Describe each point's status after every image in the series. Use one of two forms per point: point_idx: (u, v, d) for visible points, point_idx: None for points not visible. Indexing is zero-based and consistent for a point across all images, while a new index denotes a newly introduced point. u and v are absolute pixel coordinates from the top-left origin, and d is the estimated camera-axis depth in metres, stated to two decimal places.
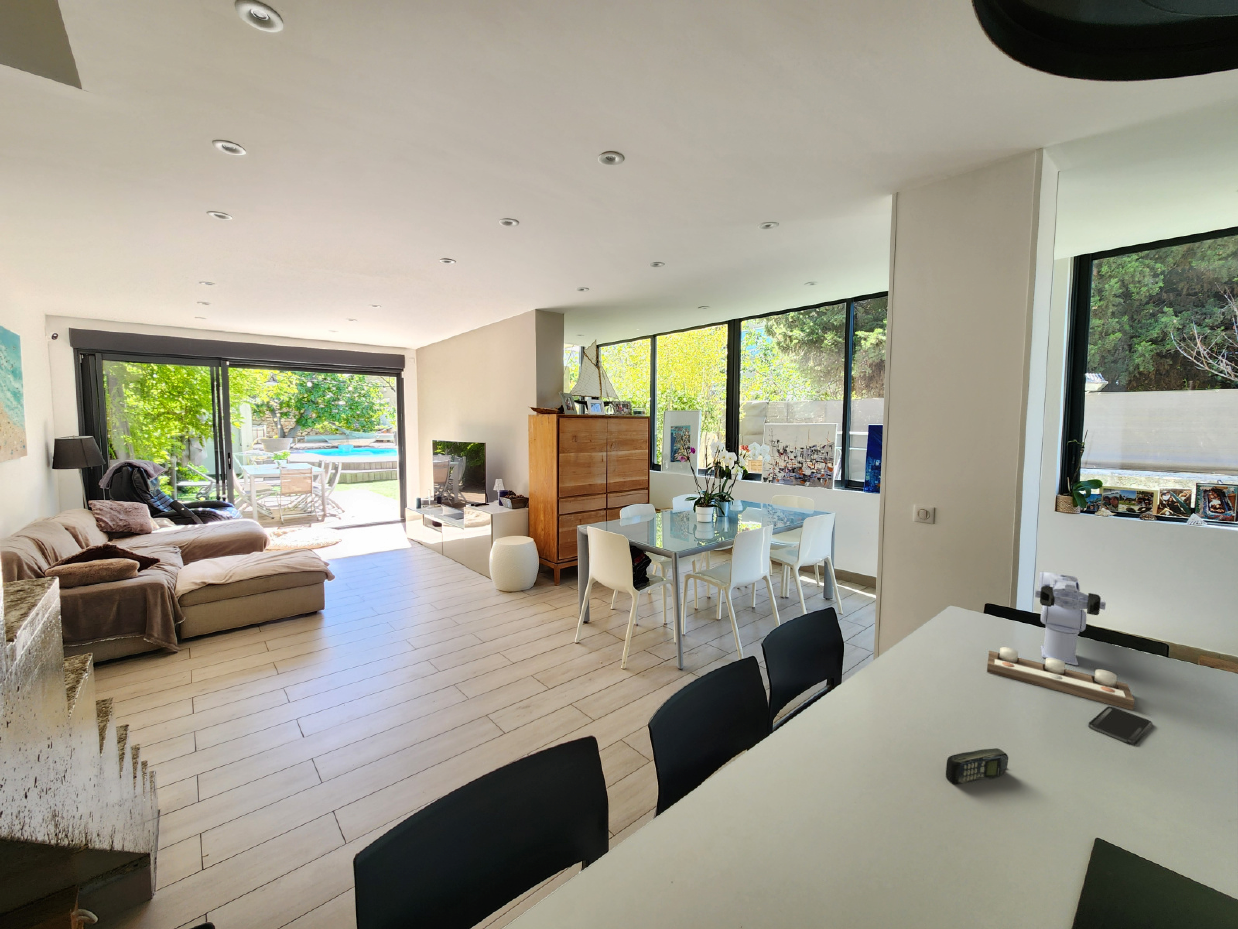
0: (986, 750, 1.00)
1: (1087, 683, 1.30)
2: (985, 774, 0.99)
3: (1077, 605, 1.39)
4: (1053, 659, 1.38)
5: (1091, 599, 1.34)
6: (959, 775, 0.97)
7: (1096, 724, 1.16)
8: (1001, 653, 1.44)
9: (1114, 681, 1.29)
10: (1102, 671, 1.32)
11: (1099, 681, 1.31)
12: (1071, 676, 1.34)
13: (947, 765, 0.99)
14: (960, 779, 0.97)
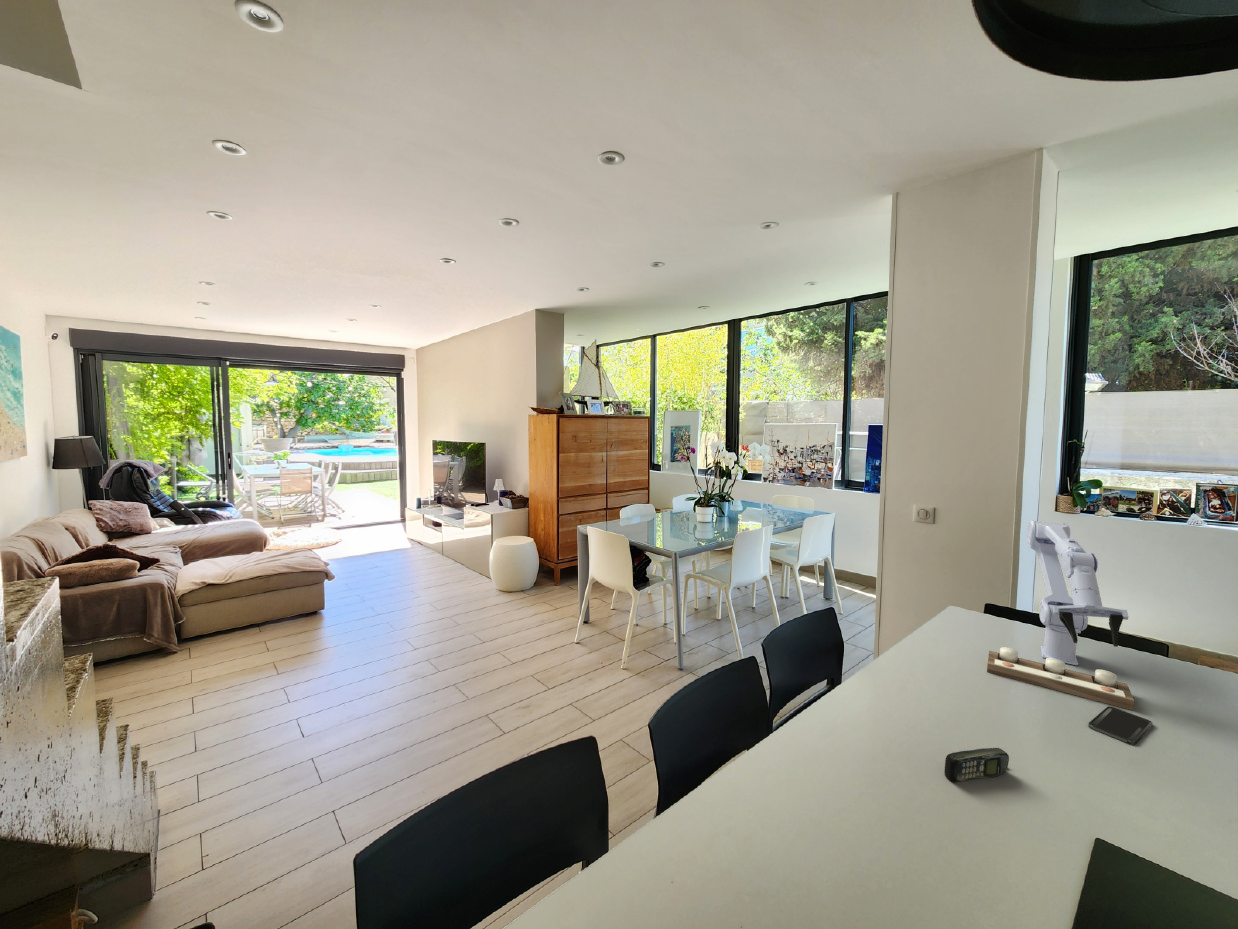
0: (986, 749, 1.00)
1: (1087, 683, 1.30)
2: (984, 773, 0.99)
3: None
4: (1053, 659, 1.38)
5: (1114, 628, 1.28)
6: (957, 773, 0.98)
7: (1096, 724, 1.16)
8: (1001, 653, 1.44)
9: (1114, 681, 1.29)
10: (1102, 671, 1.32)
11: (1099, 681, 1.31)
12: (1071, 676, 1.34)
13: (946, 763, 0.99)
14: (958, 777, 0.98)
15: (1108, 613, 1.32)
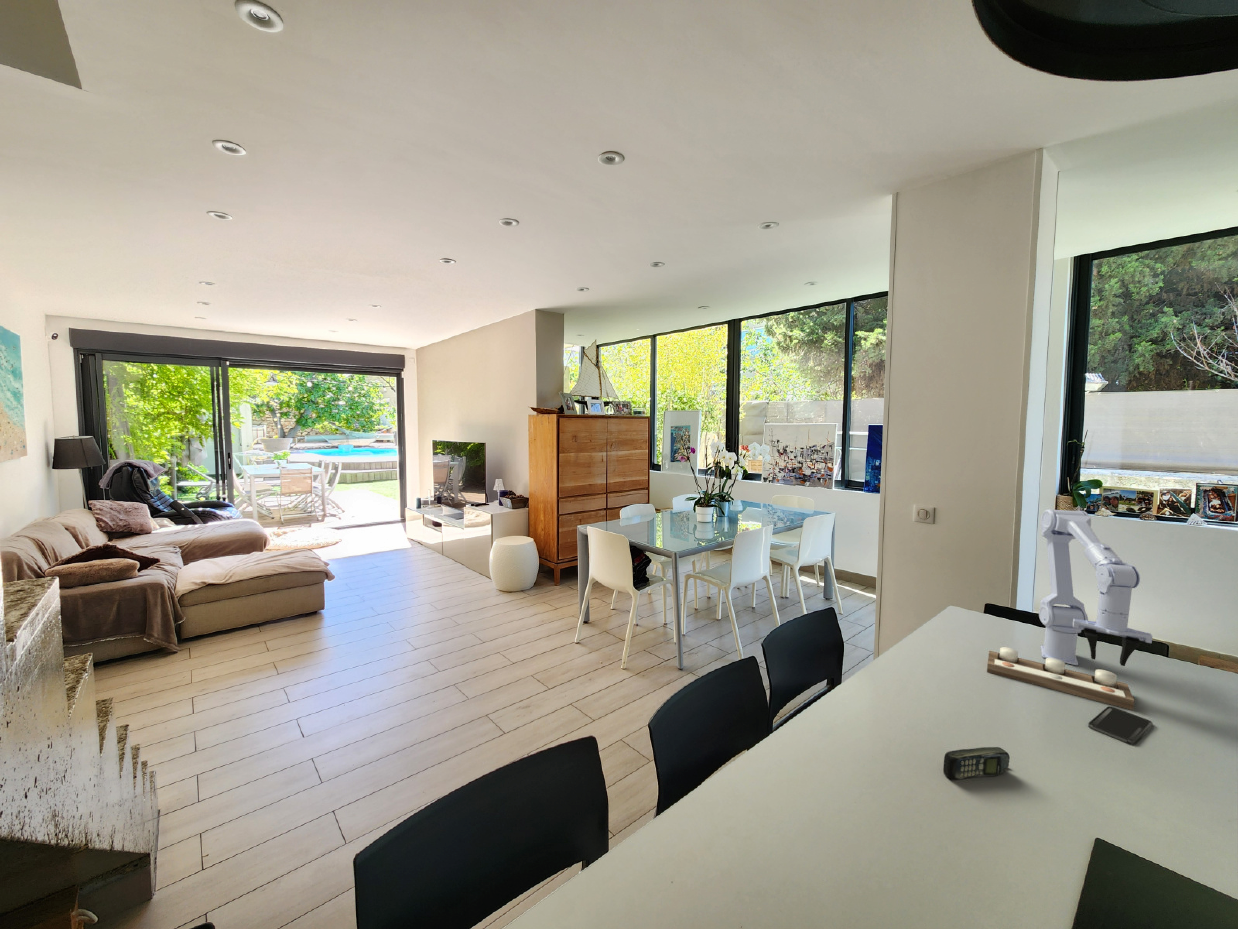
0: (986, 748, 1.01)
1: (1087, 683, 1.30)
2: (984, 772, 0.99)
3: None
4: (1053, 659, 1.38)
5: (1126, 653, 1.27)
6: (956, 771, 0.98)
7: (1096, 724, 1.16)
8: (1001, 653, 1.44)
9: (1114, 681, 1.29)
10: (1102, 671, 1.32)
11: (1099, 681, 1.31)
12: (1071, 676, 1.34)
13: (944, 760, 1.00)
14: (957, 775, 0.98)
15: None
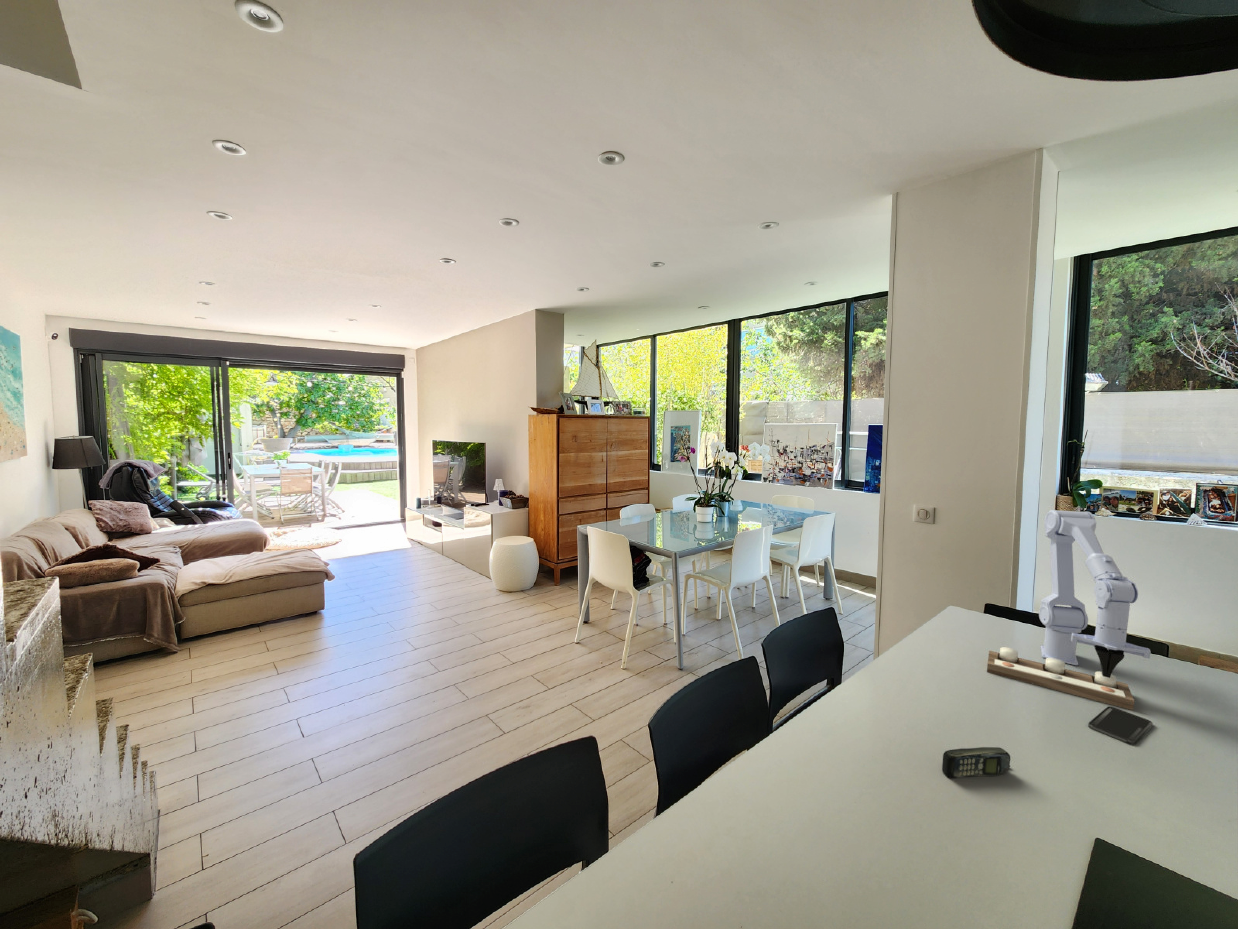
0: (986, 748, 1.01)
1: (1087, 683, 1.30)
2: (983, 771, 1.00)
3: None
4: (1053, 659, 1.38)
5: (1111, 665, 1.29)
6: (954, 769, 0.99)
7: (1096, 724, 1.16)
8: (1001, 653, 1.44)
9: (1114, 683, 1.29)
10: None
11: (1099, 683, 1.31)
12: (1071, 676, 1.34)
13: (943, 759, 1.00)
14: (955, 773, 0.99)
15: None
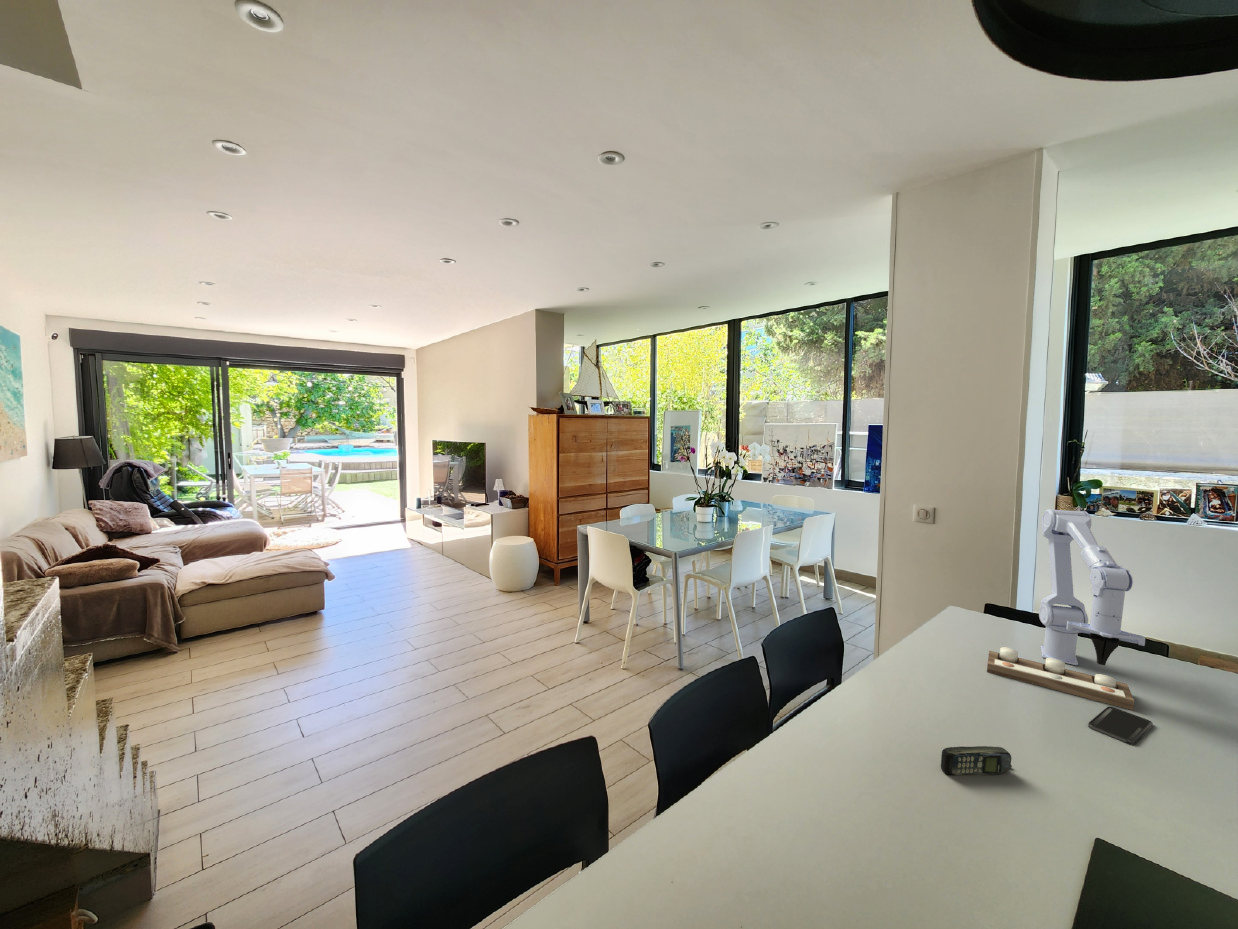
0: (987, 747, 1.01)
1: (1087, 683, 1.30)
2: (983, 770, 1.00)
3: None
4: (1053, 659, 1.38)
5: (1106, 652, 1.30)
6: (952, 767, 1.00)
7: (1096, 724, 1.16)
8: (1001, 653, 1.44)
9: (1113, 686, 1.29)
10: (1101, 676, 1.32)
11: None
12: (1071, 676, 1.34)
13: (942, 756, 1.01)
14: (954, 770, 1.00)
15: None
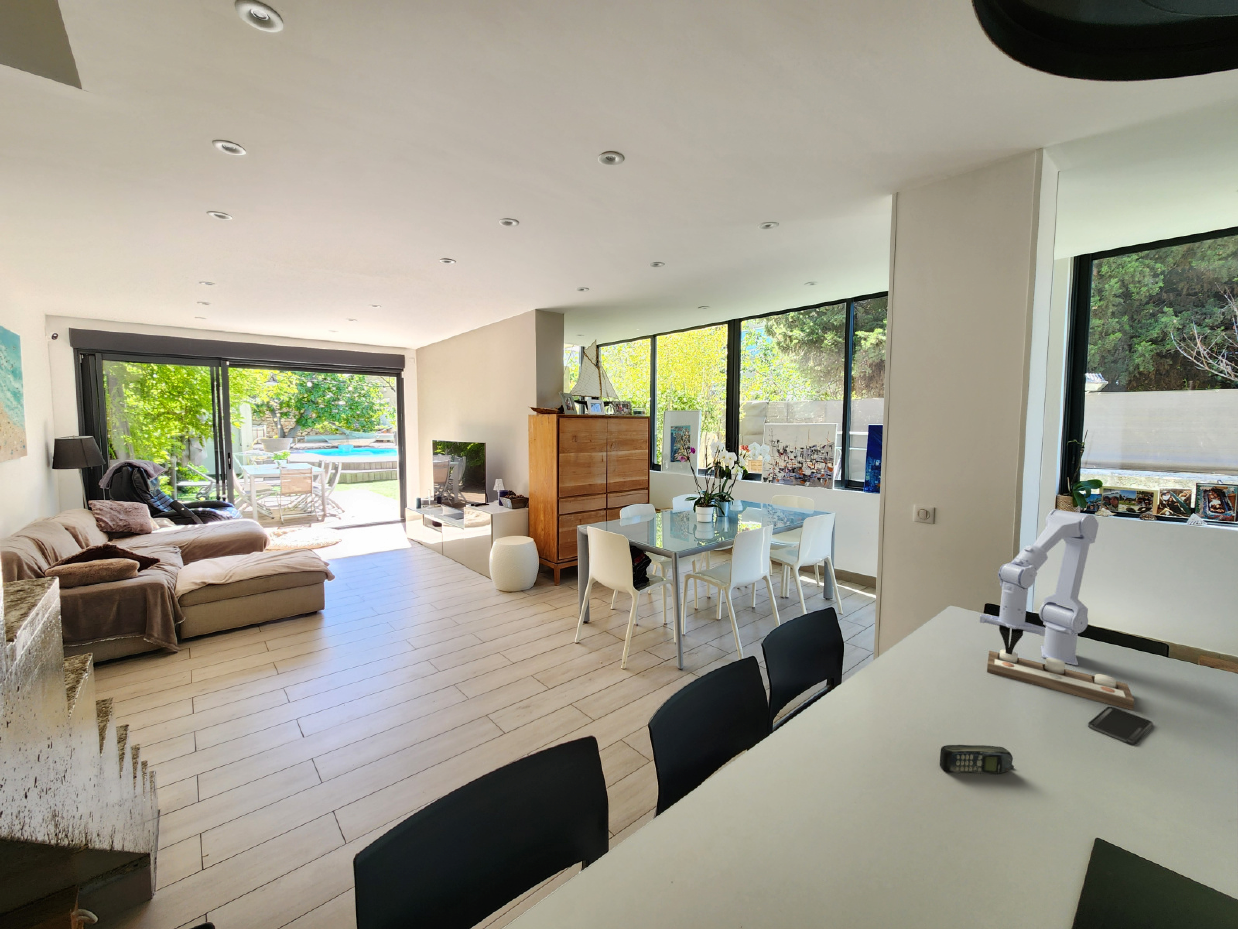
0: (987, 746, 1.01)
1: (1087, 683, 1.30)
2: (982, 769, 1.00)
3: None
4: (1053, 659, 1.38)
5: (1012, 642, 1.41)
6: (951, 764, 1.00)
7: (1096, 724, 1.16)
8: (1001, 655, 1.44)
9: (1113, 686, 1.29)
10: (1101, 676, 1.32)
11: None
12: (1071, 676, 1.34)
13: (940, 753, 1.02)
14: (952, 768, 1.00)
15: None
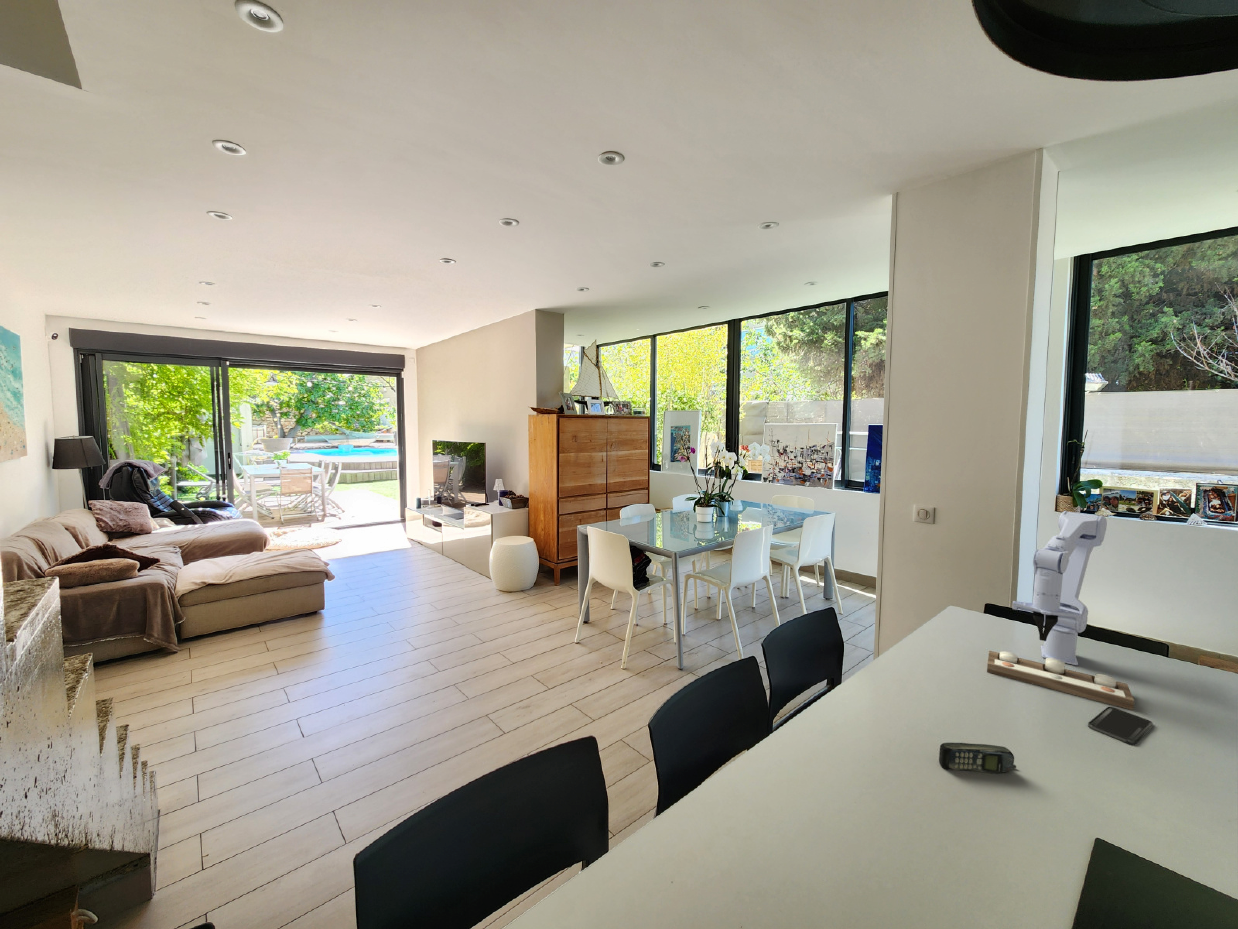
0: (988, 745, 1.02)
1: (1087, 683, 1.30)
2: (982, 767, 1.01)
3: None
4: (1053, 659, 1.38)
5: (1046, 629, 1.39)
6: (950, 761, 1.01)
7: (1096, 724, 1.16)
8: (1001, 657, 1.44)
9: (1113, 686, 1.29)
10: (1101, 676, 1.32)
11: None
12: (1071, 676, 1.34)
13: (940, 750, 1.03)
14: (951, 765, 1.01)
15: None
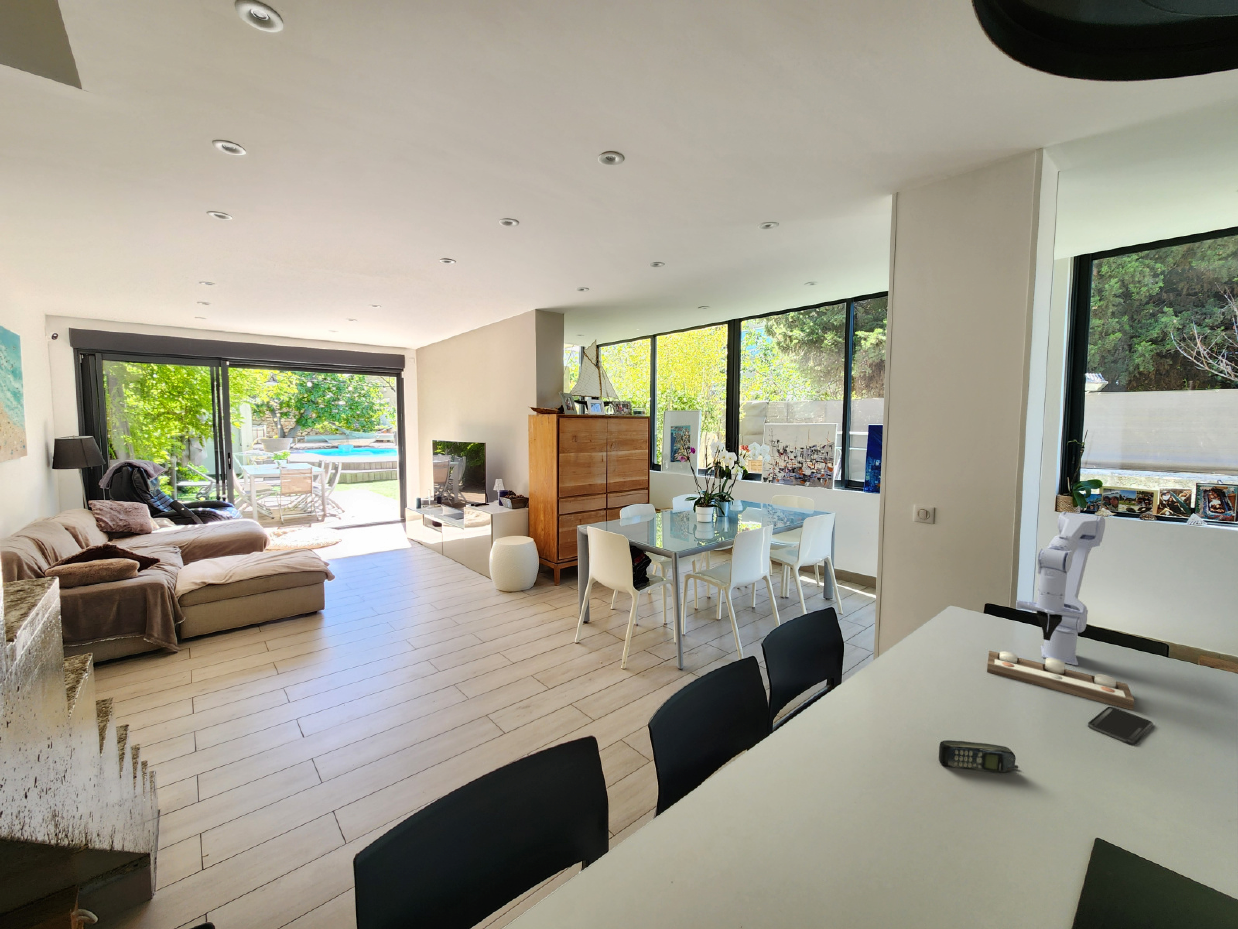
0: (989, 744, 1.02)
1: (1087, 683, 1.30)
2: (983, 766, 1.01)
3: None
4: (1053, 659, 1.38)
5: (1050, 628, 1.39)
6: (949, 758, 1.02)
7: (1095, 724, 1.16)
8: (1001, 657, 1.44)
9: (1113, 686, 1.29)
10: (1101, 676, 1.32)
11: None
12: (1071, 676, 1.34)
13: (939, 747, 1.04)
14: (950, 762, 1.02)
15: None
